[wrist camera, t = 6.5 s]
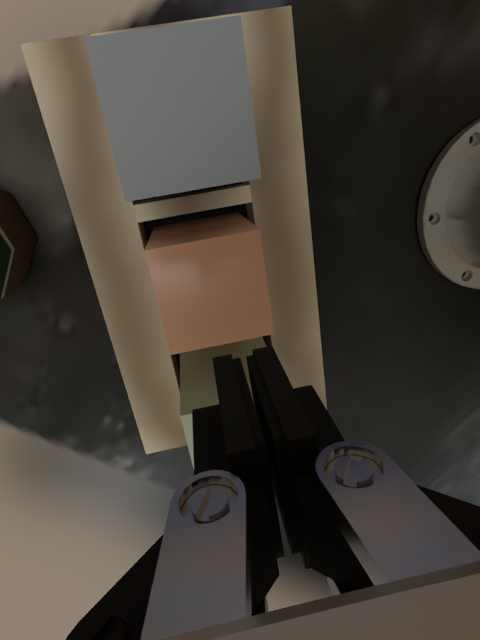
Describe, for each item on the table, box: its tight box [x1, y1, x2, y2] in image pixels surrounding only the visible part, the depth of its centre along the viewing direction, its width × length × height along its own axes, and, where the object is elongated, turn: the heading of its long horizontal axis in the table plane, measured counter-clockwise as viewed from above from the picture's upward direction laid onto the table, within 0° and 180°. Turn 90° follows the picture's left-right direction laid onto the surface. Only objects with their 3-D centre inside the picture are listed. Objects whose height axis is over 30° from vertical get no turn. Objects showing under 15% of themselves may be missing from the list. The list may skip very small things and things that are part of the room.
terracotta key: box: [144, 212, 274, 355], centre depth 24 cm, size 6×6×8 cm
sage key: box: [180, 337, 267, 468], centre depth 25 cm, size 6×6×8 cm
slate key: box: [84, 15, 261, 202], centre depth 19 cm, size 6×6×8 cm
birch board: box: [20, 6, 327, 454], centre depth 27 cm, size 14×26×3 cm, turn 9°
